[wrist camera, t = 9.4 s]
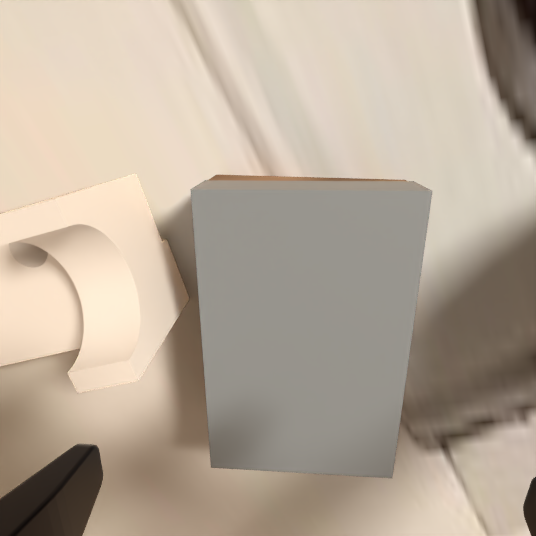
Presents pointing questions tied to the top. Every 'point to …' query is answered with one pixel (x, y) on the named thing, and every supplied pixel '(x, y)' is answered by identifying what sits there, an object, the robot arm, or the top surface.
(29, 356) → the bracket
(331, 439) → the slate slab
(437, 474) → the top surface
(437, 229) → the top surface
